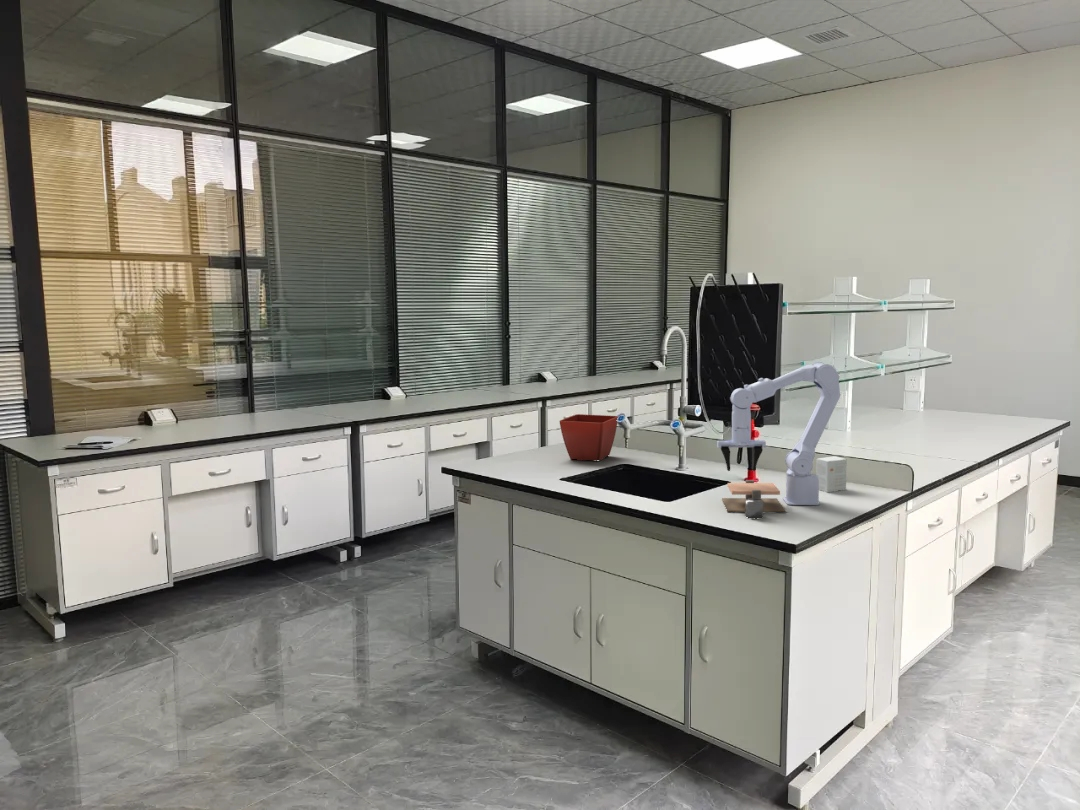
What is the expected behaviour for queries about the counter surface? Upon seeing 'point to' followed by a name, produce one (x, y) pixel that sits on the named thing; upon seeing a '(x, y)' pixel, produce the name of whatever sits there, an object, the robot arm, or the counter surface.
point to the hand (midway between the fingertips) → (741, 470)
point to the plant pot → (588, 435)
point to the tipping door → (753, 488)
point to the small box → (831, 473)
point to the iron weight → (754, 508)
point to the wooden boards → (739, 503)
